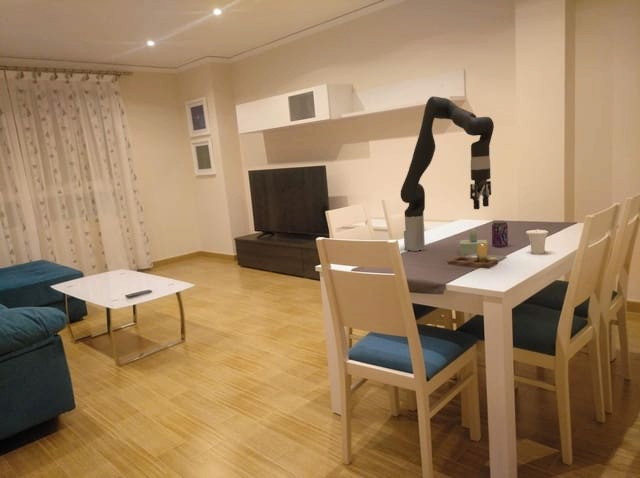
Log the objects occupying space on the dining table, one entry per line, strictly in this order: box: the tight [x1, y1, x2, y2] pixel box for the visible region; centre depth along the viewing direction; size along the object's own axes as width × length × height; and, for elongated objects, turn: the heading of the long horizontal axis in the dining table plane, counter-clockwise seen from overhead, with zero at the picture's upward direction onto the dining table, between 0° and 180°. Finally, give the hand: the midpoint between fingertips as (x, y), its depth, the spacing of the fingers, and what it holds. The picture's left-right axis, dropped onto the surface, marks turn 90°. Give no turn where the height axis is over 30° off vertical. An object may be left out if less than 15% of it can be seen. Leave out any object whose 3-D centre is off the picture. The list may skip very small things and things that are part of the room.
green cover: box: [459, 228, 488, 255], centre depth 217 cm, size 12×9×11 cm
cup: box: [525, 228, 549, 255], centre depth 205 cm, size 9×9×10 cm
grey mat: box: [464, 253, 508, 263], centre depth 203 cm, size 16×11×1 cm
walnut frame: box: [447, 255, 499, 269], centre depth 195 cm, size 18×9×2 cm, turn 47°
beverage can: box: [491, 220, 509, 248], centre depth 224 cm, size 7×7×12 cm
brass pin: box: [477, 242, 488, 263], centre depth 192 cm, size 4×4×9 cm
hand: (481, 207), depth 188 cm, fingers open, 8 cm apart
